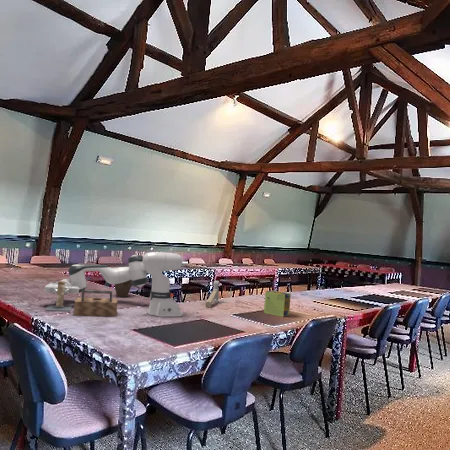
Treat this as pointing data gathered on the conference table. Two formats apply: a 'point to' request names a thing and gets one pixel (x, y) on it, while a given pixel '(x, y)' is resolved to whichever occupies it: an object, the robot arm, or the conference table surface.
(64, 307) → the slate mat
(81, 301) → the toolbox
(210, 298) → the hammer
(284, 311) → the protein box
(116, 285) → the plant pot
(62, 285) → the wooden key
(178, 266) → the robot arm
